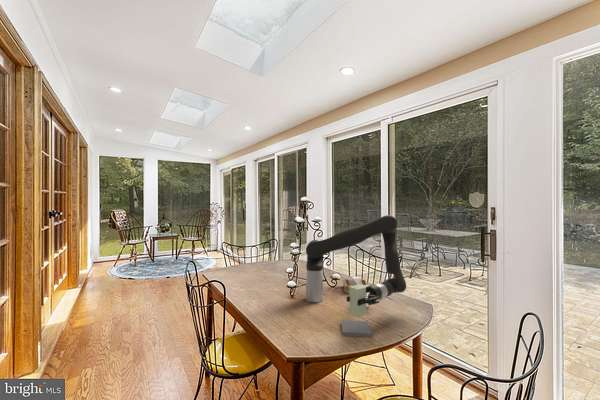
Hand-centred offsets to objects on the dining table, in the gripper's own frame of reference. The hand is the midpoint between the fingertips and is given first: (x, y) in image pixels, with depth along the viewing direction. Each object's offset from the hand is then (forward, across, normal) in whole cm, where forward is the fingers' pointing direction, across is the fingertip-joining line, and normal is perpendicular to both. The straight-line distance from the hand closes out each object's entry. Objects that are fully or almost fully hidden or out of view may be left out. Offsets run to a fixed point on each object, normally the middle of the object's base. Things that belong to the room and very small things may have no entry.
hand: (352, 301), depth 131 cm
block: (-3, 0, +6) cm, 7 cm away
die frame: (-46, -36, +14) cm, 60 cm away
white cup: (-28, -16, +14) cm, 36 cm away
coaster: (-2, 0, +13) cm, 13 cm away
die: (-46, -36, +14) cm, 60 cm away
